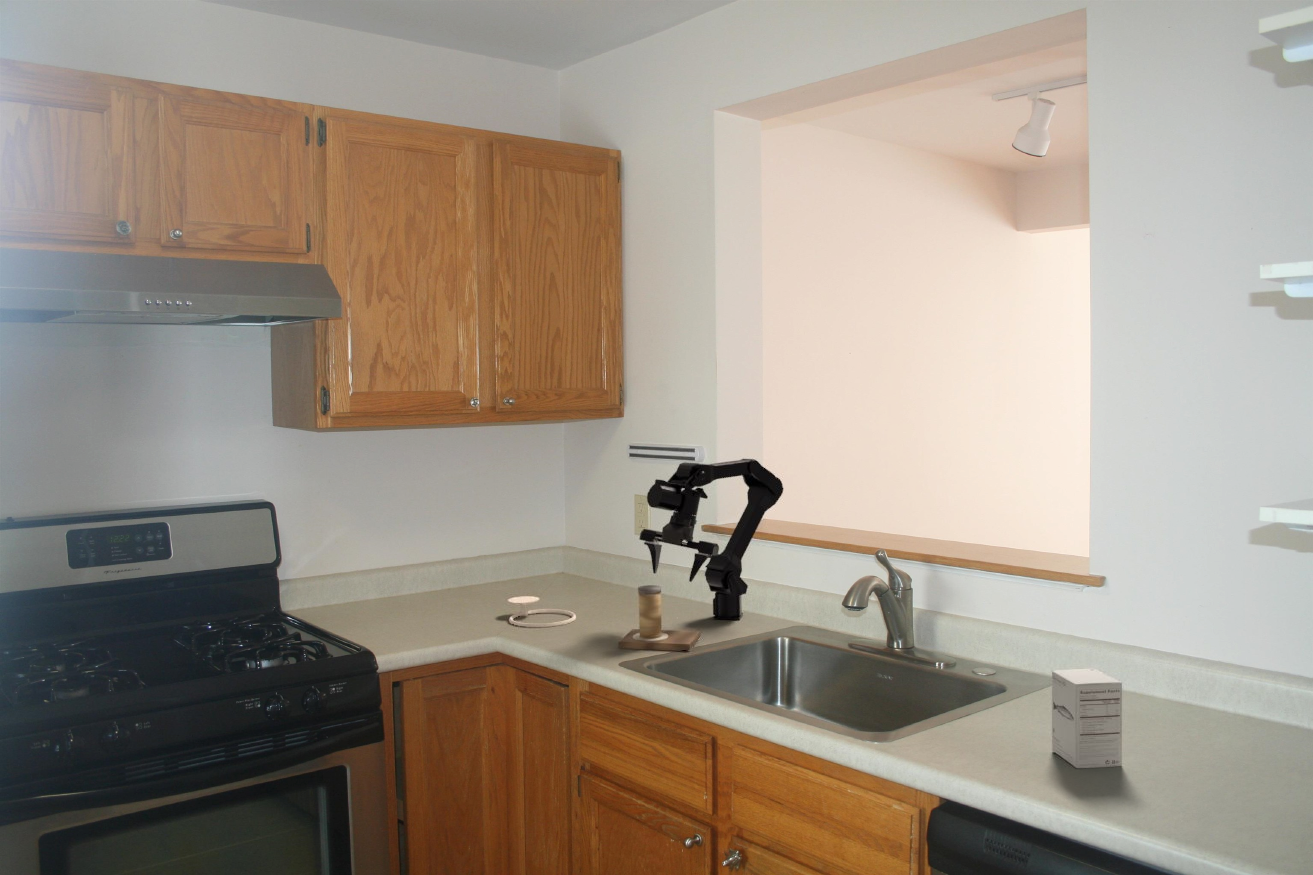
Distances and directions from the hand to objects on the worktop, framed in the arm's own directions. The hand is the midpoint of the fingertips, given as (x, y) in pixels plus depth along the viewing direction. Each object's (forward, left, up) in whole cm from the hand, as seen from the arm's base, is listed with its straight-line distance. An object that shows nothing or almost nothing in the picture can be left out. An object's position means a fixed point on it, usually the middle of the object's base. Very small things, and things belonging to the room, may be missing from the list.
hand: (672, 577), depth 235 cm
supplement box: (-79, +74, -12) cm, 109 cm away
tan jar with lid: (+2, +17, -10) cm, 20 cm away
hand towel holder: (+36, -4, -13) cm, 38 cm away
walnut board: (0, +16, -12) cm, 20 cm away
